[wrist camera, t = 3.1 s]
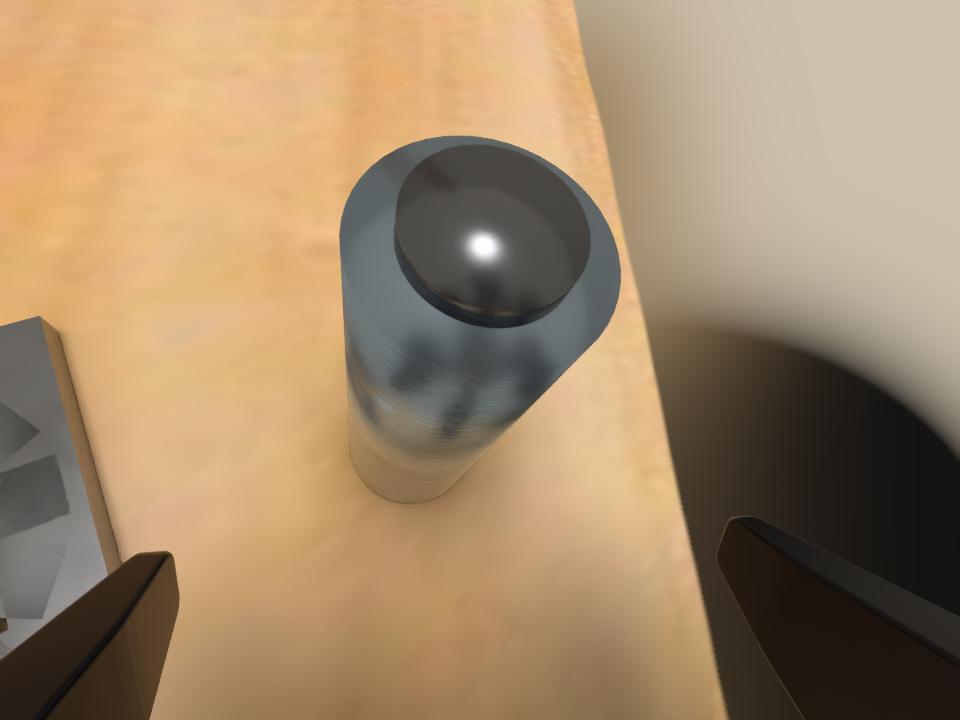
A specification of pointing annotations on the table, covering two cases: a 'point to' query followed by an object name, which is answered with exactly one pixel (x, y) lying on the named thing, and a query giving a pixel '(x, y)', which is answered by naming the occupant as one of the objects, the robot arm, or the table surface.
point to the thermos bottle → (462, 303)
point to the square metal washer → (45, 487)
